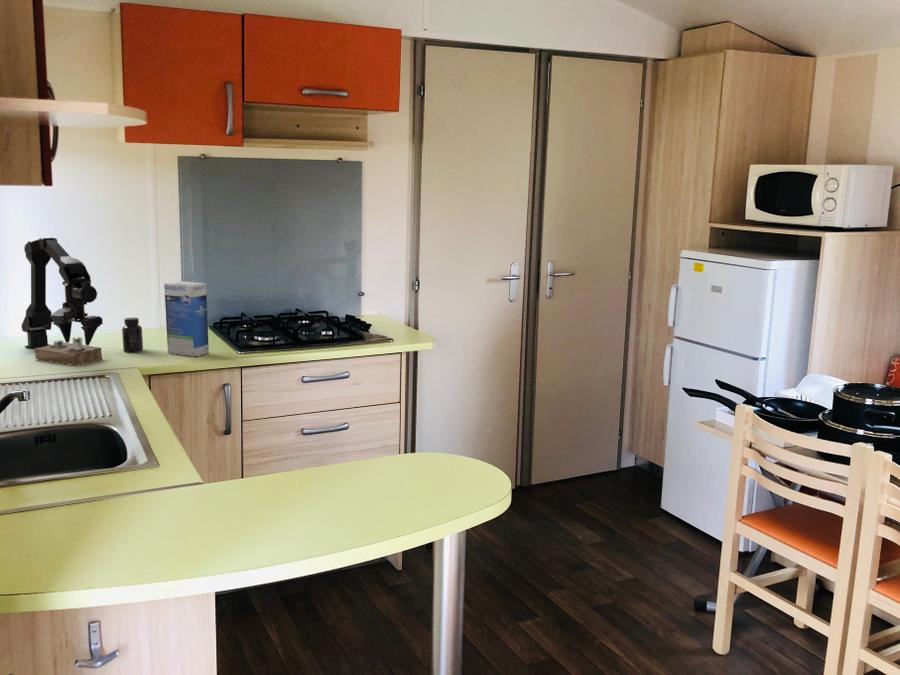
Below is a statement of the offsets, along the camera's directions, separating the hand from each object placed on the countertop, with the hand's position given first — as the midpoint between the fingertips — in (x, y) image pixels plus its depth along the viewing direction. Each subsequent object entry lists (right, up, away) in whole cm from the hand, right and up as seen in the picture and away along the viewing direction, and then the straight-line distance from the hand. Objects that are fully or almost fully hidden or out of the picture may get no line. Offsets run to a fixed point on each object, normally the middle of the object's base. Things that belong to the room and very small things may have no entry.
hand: (77, 343), depth 297 cm
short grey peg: (-8, -5, +5) cm, 11 cm away
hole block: (-4, -5, +3) cm, 8 cm away
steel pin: (0, -6, +1) cm, 6 cm away
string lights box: (+33, -4, +16) cm, 37 cm away
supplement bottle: (+12, -3, +18) cm, 22 cm away
